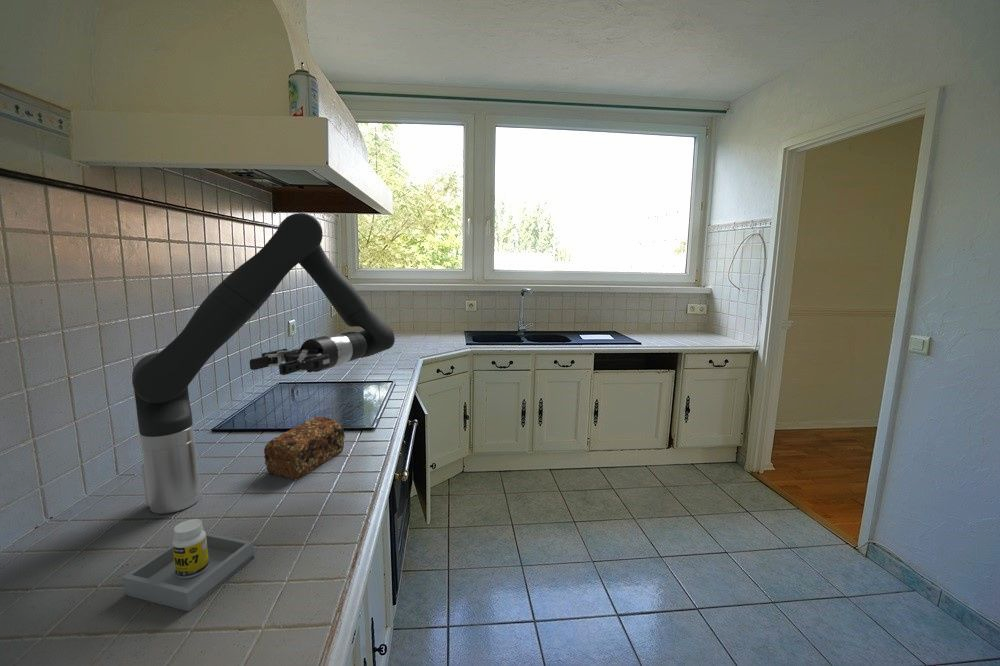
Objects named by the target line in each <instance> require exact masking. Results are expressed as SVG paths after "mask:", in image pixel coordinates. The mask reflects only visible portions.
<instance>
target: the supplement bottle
mask: <svg viewBox="0 0 1000 666" xmlns="http://www.w3.org/2000/svg"><path fill="white" fill-rule="evenodd" d="M171 545H172V547H173V556H174V564H175V573H176V576H177V577H178V578H181V579H187V578H192V577H195V576H197V575H199V574H201V573H203V572H204V571H205V570H206V569H207V568H208V566H209V558H208V548H207V538H206V531H205V530H204V527H203V521H202V520H201V519H199V518H198V519H197V518H192V519H187V520H184V521H182V522H180V523H178V524H176V526H175V527H173V540H172V542H171Z"/></svg>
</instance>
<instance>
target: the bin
mask: <svg viewBox="0 0 1000 666" xmlns="http://www.w3.org/2000/svg"><path fill="white" fill-rule="evenodd" d="M205 532H206V531H205ZM206 538H207V548H208V558H209V566H208V568H207V569H206V570H205V571H204V572H203V573H201V574H199V575H197V576H195V577H192V578H187V579H181V578H178V577H177V576H176V573H175V564H174V556H173V547H172V544H171V545H170V546H168V547H167V548H165V549H163V550H162V551H160V552H159V553H158V554H156V555H154V556H153V557H152V558H151V557H150V559H148V560H147V561H144V563H142V564H141V565H139V566H137V567H136V568H135V569H133V570H132V571H130V572H128V573H127V574H125V575H123V576H121V577H122V584H123V589H124V596H128V597H132V598H136V599H139V600H144V601H147V602H150V603H154V604H159V605H162V606H166V607H170V608H173V609H178V610H181V611H185V612H191V611H192V610H193V609H194V608H195V607H197V606H198V605H199V604H201V602H203V601H204V600H205V599H206V598H208V597H209V596H210V595H211V594H212V593H213V592H215V591H216V590H217V589H219V588H220V586H222V585H223V584H225V583H226V582H227V581H228V580H230V578H232V577H233V576H234V575H235V574H236V573H238V572H239V571H240V570H241V569H243V568H244V567H245V566H246V565H248V564H249V563H250V562H251V561H252V560H254V559H255V551H254V542H253V541H251V540H247V539H246V540H245V539H240V538H236V537H232V536H227V535H222V534H217V533H211V532H206Z"/></svg>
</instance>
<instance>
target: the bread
mask: <svg viewBox="0 0 1000 666" xmlns="http://www.w3.org/2000/svg"><path fill="white" fill-rule="evenodd" d="M344 429H345V428H344V426H343V425H341V423H338V422H337V421H335V420H334V419H332V418H329V417H327V416H315V417H312V418H311V419H308V420H305V421H304V422H303V423H300V424H298V425H296V426H294V427H293V428H291V429H289V430H287V431H285V432H283V433H281V434H279V435H277V436H276V437H274V438H272V439H270V440H269V441H268V442H267V443H266V444H265V445H264V448H263V450H264V451H263V453H264V465H265V467H266V470H267V473H268V474H270V475H271V474H273V475H274V476H276V477H279V476H283V477H285V478H286V479H292V480H295V481H296V480H300V479H301V478H303V476H305V475H307V474H309V473H311V472H312V471H314V470H316V469H317V468H318V467H321V466H322V465H324V464H325V463H327V462H329V460H331V459H333V458H335V457H336V456H338V455H339V454H340V453H341V452H343V450H344V447H345V446H344V445H345V442H344V441H345V439H346V436H345V435H346V434H345V431H344Z"/></svg>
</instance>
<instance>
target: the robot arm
mask: <svg viewBox="0 0 1000 666" xmlns="http://www.w3.org/2000/svg"><path fill="white" fill-rule="evenodd" d="M322 240H323V228H322V225H321V222H319V220H318V219H317V218H316V217H314V216H312V215H311V214H307V213H302V212H298V213H293V214H289V215H288V216H286V217H285V218H284V219H283V220H282V221H281V222H280V224H279V225H278V227H277V230H276V231H275V232H274V233H273V234H272V236H271V237H270V239H269V240H268V241H267V242H266V243H265V245H264V246H263V247H262V248H261V249H259V250H258V252H257V253H255V254H254V255H253V256H252V257H250V258H249V259H248V260H246V261H245V262H244V263H242V264H241V265H240V266H238V267H237V268H236V269H235V270H234V271H232V272H231V273H230V274H229V275H227V276H226V277H225V278H224V279H223V280H222V281H221V282H220V283H219V284H218V285H217V286H216V287H215V288H214V289H213V290H212V291H211V292H210V293H209V294H208V295H207V297H205V298H204V300H203V301H202V302H201V304H200V305H199V306H198V308H197V309H196V310H195V312H194V313H193V314H192V317H191V318H190V319H189V320H188V322H187V323H186V325H185V327H184V328H183V329H182V331H181V332H180V333H179V334H178V335H177V336H176V337H175V339H173V341H171V342H169V344H168V345H167V346H166V347H164V348H163V349H162V350H161V351H160V352H155V353H151V354H148V355H146V356H144V357H142V358H141V359H140V360H139V361H137V363H136V364H135V365H134V368H133V370H132V374H131V381H132V383H131V385H132V387H133V393H134V399H135V406H136V407H135V408H136V417H137V424H138V426H137V427H138V431H139V439H140V446H141V453H142V454H141V455H142V461H143V464H142V465H141V466H140V467H141V475H142V480H143V491H144V495H145V505H146V507H148V508H149V511H151V513H153V514H162V515H164V514H172V513H175V512H176V513H177V512H179V511H182V510H185V509H187V508H191V506H193V505H194V504H197V503H198V502H199V501H200V500H201V496H202V493H201V492H202V491H201V484H200V483H201V482H200V475H199V473H200V472H199V465H198V457H197V449H196V448H197V446H196V441H195V440H196V438H195V432H194V431H195V430H194V423H193V414H192V413H193V412H192V407H191V402H190V394H189V393H190V392H189V385H190V384H191V383H192V381H193V380H194V378H195V377H196V376H197V375H198V374H199V372H200V370H201V369H202V368H203V367H204V366H205V364H207V362H208V360H210V358H212V356H213V355H214V354H215V353H216V352H217V351H218V350H219V349H220V348H221V347H222V346H223V345H224V344H226V343H227V342H228V341H229V340H230V339H231V338H233V336H234V335H235V334H236V333H237V332H238V331H240V329H241V328H242V327H243V326H244V325H245V324H246V323H247V322H248V321H249V320H250V319H251V318H252V317H253V316H254V315H255V314H256V313H257V312H258V311H259V310H260V308H261V307H262V306H263V305H264V304H265V302H266V301H267V300H268V299H269V298H270V297H271V296H272V294H273V293H274V292H275V290H276V289H277V287H278V286H279V285H280V283H281V282H282V281H283V279H285V277H286V275H288V274H289V272H290V271H291V270H293V269H294V267H296V266H297V265H298V264H299V265H300V266H301V267H302V268H303V269H304V271H306V273H307V274H308V275H309V276H310V278H312V280H313V281H314V283H315V284H316V285H317V286H318V288H320V290H321V292H322V293H323V294H324V296H325V298H326V299H327V300H328V301H329V303H330V304H331V305H332V307H333V308H334V310H335V311H336V312H337V314H338V315H339V316H340V318H341V319H342V320H343V322H344V323H345V324H346V325H347V326H348V327H351V328H355V327H356V328H357V327H359V328H362V329H363V330H361V331H358V332H357V331H347V332H343V333H336V334H328V335H323V336H319V337H314V338H308V339H306V340H305V341H304V342H303V343H302V344H301V346H300V347H299V348H291V349H289V350H288V348H282V349H277V350H271V351H267V352H263V353H261V356H260V357H255V358H251V359H250V360H249V369H250V370H251V371H256V370H260V369H265V368H269V367H270V368H271V367H278V370H279V372H278V373H279V375H281V376H286V375H289V374H290V375H291V374H294V373H297V372H299V373H303V372H307V373H312V372H313V373H318V372H323V371H324V370H328V369H331V368H334V367H339V366H341V365H343V364H345V363H348V362H352V361H355V360H357V359H362V358H363V359H364V358H368V357H371V356H374V355H377V354H379V353H382V352H385V351H387V350H389V349H391V348H392V347H393V346H394V344H395V341H396V339H395V338H396V337H395V334H394V331H393V329H392V328H391V326H390V325H389V324H388V323H387V322H386V321H385V320H383V318H381V317H380V316H379V315H378V314H377V313H376V312H374V311H373V310H372V309H371V308H369V306H368V304H367V303H366V302H365V301H364V300H365V299H363V297H362V296H361V295H360V294H359V292H358V290H357V289H356V288H355V287H354V286H353V284H352V283H351V282H350V281H349V280H348V279H347V278H346V277H345V276H344V275H343V274H342V273H341V272H340V271H339V270H338V269H337V267H335V265H334V264H333V263H332V261H331V260H330V258H329V257H328V255H327V254H326V252H325V251H324V249H323V247H322V245H321V243H322ZM283 362H284V363H283Z"/></svg>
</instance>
